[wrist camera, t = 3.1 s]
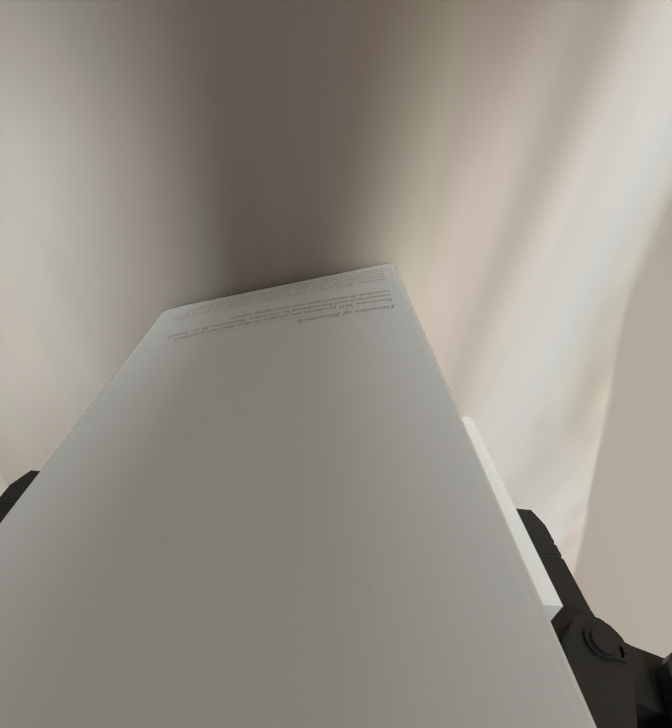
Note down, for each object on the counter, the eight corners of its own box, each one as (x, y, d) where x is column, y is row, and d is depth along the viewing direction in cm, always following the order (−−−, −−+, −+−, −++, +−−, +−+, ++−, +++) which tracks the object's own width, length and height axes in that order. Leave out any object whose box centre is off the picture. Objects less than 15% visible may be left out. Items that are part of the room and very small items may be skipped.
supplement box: (154, 305, 15) (-755, 1364, 2) (396, 255, 14) (974, 1390, 2) (234, 474, 20) (77, 1129, 7) (418, 444, 19) (611, 1108, 6)
